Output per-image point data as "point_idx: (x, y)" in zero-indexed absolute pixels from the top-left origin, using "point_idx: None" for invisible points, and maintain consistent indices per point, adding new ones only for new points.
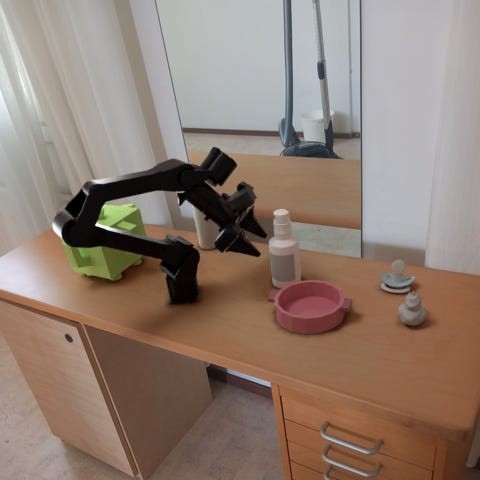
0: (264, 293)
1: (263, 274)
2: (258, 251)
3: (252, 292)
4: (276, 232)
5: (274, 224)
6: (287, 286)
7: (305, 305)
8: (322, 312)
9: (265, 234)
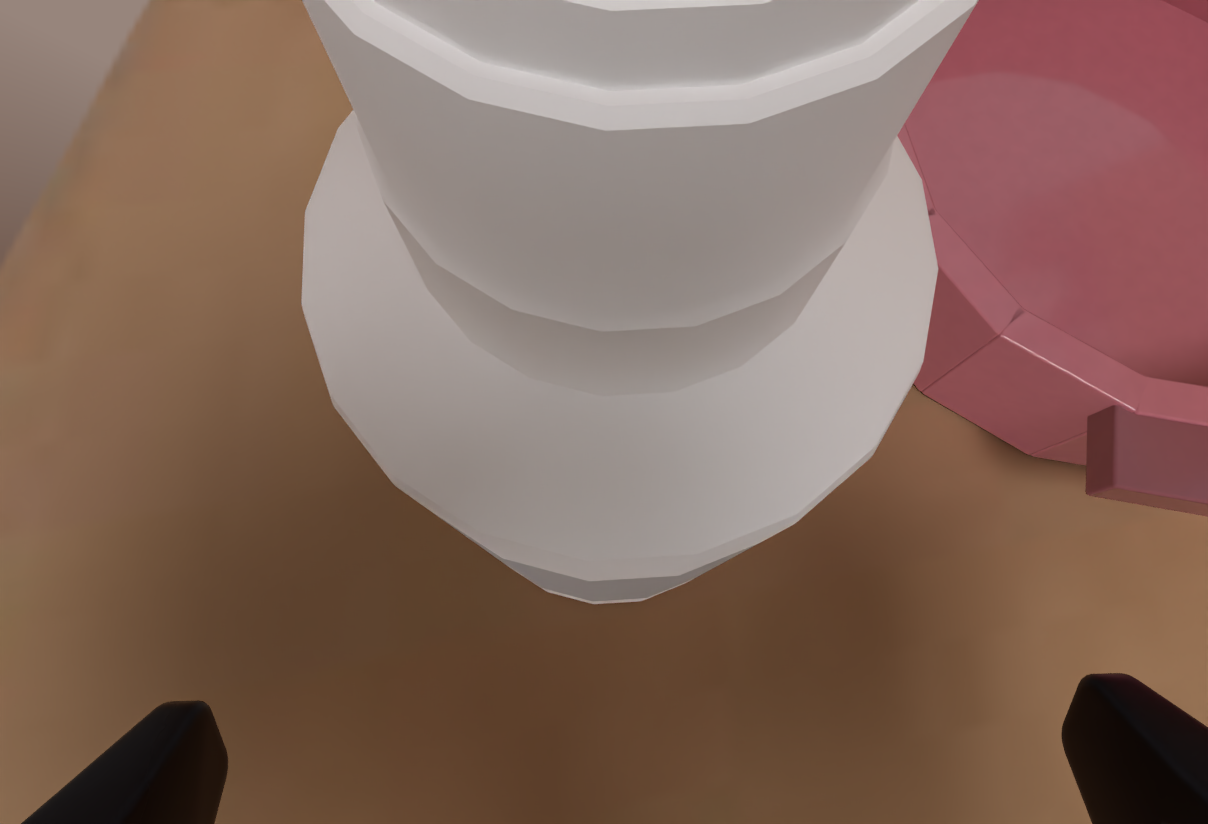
0: (834, 658)
1: (441, 749)
2: (1187, 730)
3: (828, 802)
4: (860, 199)
5: (902, 73)
6: (1032, 333)
7: (1001, 238)
8: (1077, 103)
9: (185, 744)
